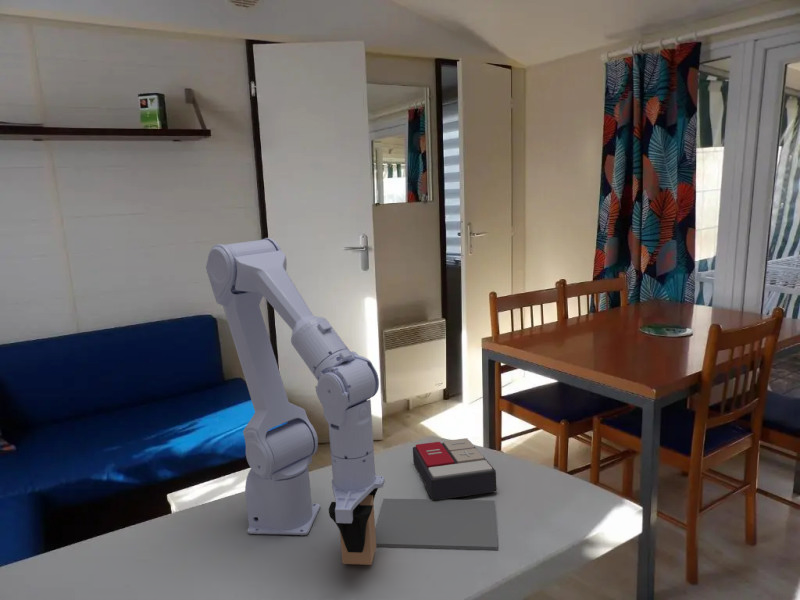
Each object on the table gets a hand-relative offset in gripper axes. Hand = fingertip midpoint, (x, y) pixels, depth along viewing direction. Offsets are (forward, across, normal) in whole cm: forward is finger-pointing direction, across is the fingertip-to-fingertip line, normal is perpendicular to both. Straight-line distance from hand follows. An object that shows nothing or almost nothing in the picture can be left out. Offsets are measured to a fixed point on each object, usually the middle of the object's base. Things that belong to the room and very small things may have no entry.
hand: (358, 540), depth 80 cm
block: (+2, 0, 0) cm, 2 cm away
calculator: (+3, +23, -12) cm, 26 cm away
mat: (+3, +9, -10) cm, 14 cm away
